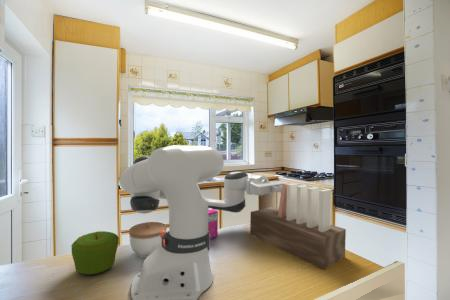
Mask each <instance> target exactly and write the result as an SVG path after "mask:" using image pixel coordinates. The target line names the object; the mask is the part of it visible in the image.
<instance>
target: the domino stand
mask: <svg viewBox="0 0 450 300" xmlns="http://www.w3.org/2000/svg"><path fill="white" fill-rule="evenodd" d="M278 211H279V207H275V206H274V207H273V206H269V207H266V208H261V209H258V210H253V211H252V210H251V211H250V221H249V222H250V224H249V225H250V230H249V232H250V234H249V235H250V236H253V237H254V238H257V239H259V240H261V241H263V242H265V243H267V244H270V245H271V246H273V247H276V248H277V249H280V250H282V251H284V252H286V253H288V254H291V255H292V256H294V257H296V258H298V259H300V260H302V261H304V262H307V263H308V264H310V265H313V266H315V267H317V268H318V269H320V270H323V271H325V270H326V269H328V268H329V267H331V266H333V265H334V264H336V263H338V262H340V261H341V260H343V259H345V258H346V235H347V233H346V232H347V231H346V229H345V228H344V227H339V226H337V225H333V224H330V229H329V230H327V231H325V232H320V231H318V226H315V227H313V228H308V227H307V222H306V223H303V224H297V223H296V219H295V220H291V221H288V220H286V216H285V217H282V218H280V217H278Z"/></svg>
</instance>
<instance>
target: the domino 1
mask: <svg viewBox="0 0 450 300" xmlns="http://www.w3.org/2000/svg"><path fill="white" fill-rule="evenodd" d="M287 182H288V183H282V190H281V193H280V198H279V206H278V209H279V211H278V217H280V218H282V217H285V216H286V207H287V184H294V182H290V181H287Z"/></svg>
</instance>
